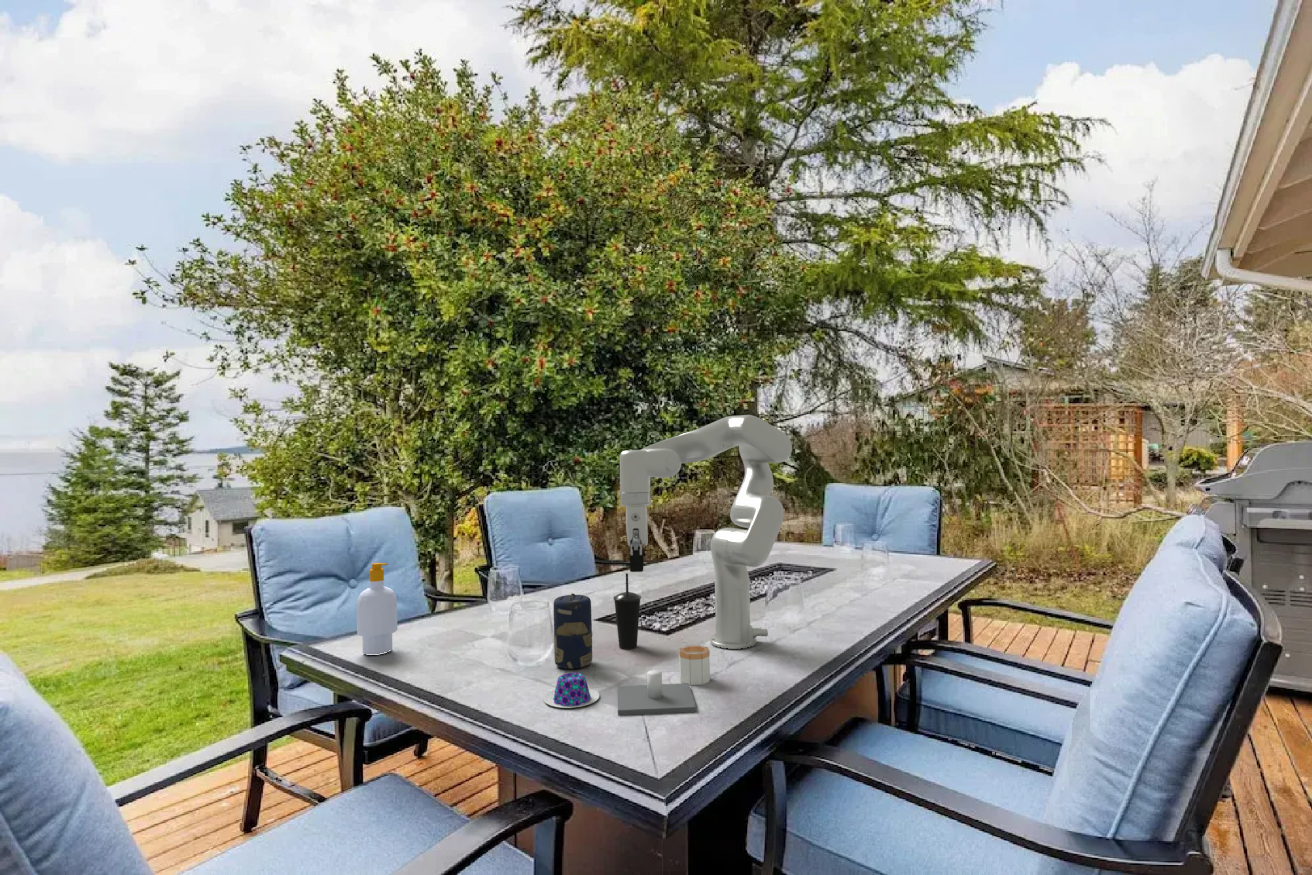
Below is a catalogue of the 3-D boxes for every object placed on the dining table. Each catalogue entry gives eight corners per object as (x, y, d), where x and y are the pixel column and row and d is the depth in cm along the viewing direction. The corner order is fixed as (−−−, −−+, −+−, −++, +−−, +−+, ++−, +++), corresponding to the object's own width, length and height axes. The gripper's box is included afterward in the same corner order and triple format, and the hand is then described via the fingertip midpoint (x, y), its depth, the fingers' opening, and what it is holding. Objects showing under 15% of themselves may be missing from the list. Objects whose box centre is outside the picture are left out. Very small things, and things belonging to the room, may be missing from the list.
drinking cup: (638, 651, 181) (637, 576, 181) (610, 650, 183) (609, 575, 183) (644, 643, 188) (643, 571, 189) (618, 642, 190) (616, 570, 190)
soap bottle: (383, 659, 178) (382, 567, 179) (348, 657, 180) (347, 566, 181) (405, 647, 188) (404, 560, 189) (372, 646, 190) (371, 560, 191)
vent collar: (707, 674, 162) (706, 644, 162) (711, 684, 155) (710, 653, 155) (678, 675, 162) (678, 645, 162) (681, 685, 155) (680, 654, 155)
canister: (598, 661, 174) (597, 590, 174) (582, 673, 165) (581, 598, 165) (565, 657, 177) (563, 588, 177) (547, 669, 168) (546, 596, 168)
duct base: (688, 687, 153) (688, 660, 153) (695, 711, 139) (695, 682, 139) (617, 690, 152) (617, 663, 152) (617, 714, 138) (617, 685, 138)
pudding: (552, 715, 140) (551, 689, 140) (538, 695, 151) (537, 672, 151) (607, 705, 145) (606, 680, 145) (589, 687, 156) (589, 664, 156)
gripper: (650, 501, 161) (652, 574, 161) (650, 496, 178) (651, 561, 178) (619, 502, 161) (620, 575, 161) (621, 497, 178) (623, 562, 178)
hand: (637, 567), depth 169 cm, fingers open, 9 cm apart
